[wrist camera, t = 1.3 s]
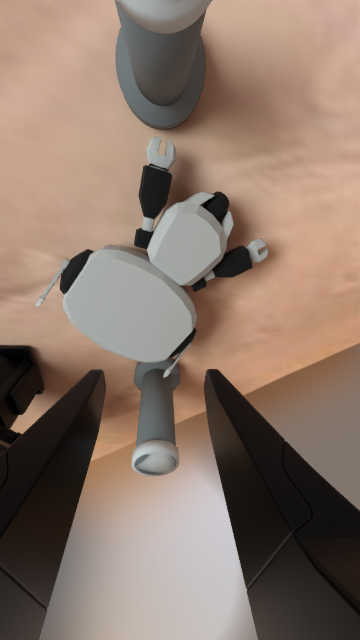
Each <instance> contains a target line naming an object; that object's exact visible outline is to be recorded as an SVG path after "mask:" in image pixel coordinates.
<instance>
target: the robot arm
mask: <svg viewBox="0 0 360 640" xmlns="http://www.w3.org/2000/svg"><path fill="white" fill-rule="evenodd" d="M23 350H24V351H23ZM25 351H26V352H25ZM43 391H44V386H43V381H42V378H41V375H40V373H39V370H38V367H37V365H36V363H35V360H34V357H33V354H32V351H31V349H30V348H29V347H27V346H0V640H39V637H40V634H41V630H42V627H43V623H44V620H45V617H46V613H47V607H48V605H49V602H50V599H51V595H52V592H53V588H54V585H55V581H56V578H57V574H58V571H59V568H60V564H61V561H62V557H63V554H64V550H65V547H66V543H67V540H68V536H69V532H70V530H71V526H72V523H73V519H74V516H75V512H76V509H77V505H78V502H79V498H80V495H81V492H82V488H83V485H84V481H85V478H86V474H87V471H88V467H89V464H90V460H91V457H92V453H93V450H94V447H95V443H96V440H97V436H98V432H99V427H100V421H101V415H102V410H103V404H104V398H105V392H106V384H105V377H104V372H103V370H101V369H99V370H91V371H89V372H88V373H87V374H86V375H85V376H84V377H83V378H82V379H81V380H80V381H79V382H78V383H76V384H75V385H74V386H73V387H72V388H71V389H70V390H69V391H68V392H67V393H66V394H65V395H64V396H63V397H62V398H60V399H59V400H58V401H57V402H56V403H55V404H54V405H53V406H52V407H51V408H50V409H49V410H48V411H47V412H46V413H44V414H43V415H42V416H41V417H40V418H39V419H38V420H37V421H36V422H35V423H34V424H33V425H32V426H31V427H30V428H28V429H27V430H26V431H25V432H24V433H23V434H21V433H19V432H18V433H16V432H14V431H13V430H11V429H10V428H11V427H12V425H13V423H14V422H15V420H16V419H17V417H18V415H23V414H24V413H25V411H26V410H27V408H28V406H29V405H30V403H31V401H32V400H33V398H34V396H35V395H36V394H42V393H43ZM204 393H205V402H206V410H207V419H208V426H209V432H210V436H211V441H212V445H213V449H214V453H215V458H216V462H217V466H218V470H219V475H220V479H221V483H222V488H223V492H224V496H225V500H226V505H227V509H228V513H229V517H230V522H231V526H232V530H233V533H234V539H235V543H236V547H237V551H238V556H239V560H240V564H241V568H242V572H243V577H244V581H245V585H246V589H247V594H248V599H249V603H250V607H251V611H252V616H253V620H254V624H255V628H256V633H257V637H258V640H360V511H359V510H358V509H357V508H356V507H355V506H354V505H353V504H351V503H350V502H349V501H348V500H347V499H346V498H345V497H344V496H343V495H341V494H340V493H339V492H338V491H337V490H336V489H335V488H334V487H333V486H332V485H330V484H329V483H328V482H327V481H326V480H325V479H324V478H323V477H322V476H321V475H320V474H319V473H318V472H316V471H315V470H314V469H313V468H312V467H311V466H310V465H309V464H308V463H307V462H306V461H305V460H304V459H303V458H302V457H301V456H300V455H299V454H298V453H297V452H296V451H295V450H294V449H293V448H292V447H291V446H290V445H289V444H288V442H286V441H285V440H284V438H283V437H282V436H281V435H280V434H279V433H278V432H277V431H276V430H275V429H274V428H273V427H272V426H271V425H270V424H269V423H268V422H267V420H266V419H265V418H264V417H263V416H262V415H261V414H260V413H259V412H258V411H257V410H256V409H255V408H254V407H253V406H252V405H251V404H250V403H249V402H248V401H247V399H245V397H244V396H243V395H242V394H241V393H240V392H239V391H238V390H237V389H236V388H235V387H234V386H233V385H232V384H231V383H230V382H229V381H228V380H227V379H226V377H225V376H224V375H223V374H222V373H221V372H220V371H219V370H217V369H208V370H207V371H206V376H205V382H204ZM284 441H285V442H284Z"/></svg>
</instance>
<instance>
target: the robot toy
mask: <svg viewBox="0 0 360 640" xmlns="http://www.w3.org/2000/svg"><path fill="white" fill-rule="evenodd" d="M161 140H162V138H160V137H154V138H153V139H151V140H150V142H149V145H148V147H147V150H146V153H147V157H148V162H149V166H147V165H145V166H143V172H142V178H141V184H140V190H139V199H140V203H141V208H142V211H143V215H144V219H143V225H142V228H139V229H137V230H136V235H135V241H134V245H135V246H137V247H140V248H144V249H147V252H148V255H149V257H148V256H146V255H144V254H142V253H140V252H138V251H135V250H133V249H131V248H128V247H124V246H118V245H106V246H104V247H102V248H100V249H98V250H96V251H92V250H89V249H87V250H85V251H83V252H82V253H80V254H78V255H77V256H75V257H74V258H72V259H71V260H70V261H69V260H68V259H65V260H64V261H63V263H62V264H61V269H60V270H59V272H58V273H57V274H56V276H55V277H54V279H53V280H52V282H51V283H50V285H49V286H48V288H47V289H46V290H45V292H44V293H43V295H42V296H41V297H40V298H39V299H38V301H37V302H36V307H37V306H39V305H40V304H42V302H43V301H44V299H45V297H46V295H47V294H48V292H49V291H50V289H51V288H52V286H53V285H54V284H55V282H56V281H57V279H58V278H59V276H60V275H61V282H60V290H61V291H62V293H63V294H64V300H63V309H64V311H65V313H66V315H67V317H68V318H69V320H70V321H71V322H72V324H73V325H74V326H75V327H76V328H77V329H79V330H80V331H81V332H82V333H83V334H84V335H85V336H87V337H88V338H89V339H91V340H92V341H93V342H95V343H96V344H98V345H99V346H100V347H102V348H103V349H104V350H107V351H109V352H112V353H114V354H117V355H120V356H122V357H125V358H127V359H131V360H135V361H138V362H144V363H157V362H160V361H163V360H166V359H167V358H168V357H174V356H175V355H177V354H178V353H179V354H178V356H177V357H176V359H175V360H174V361H173V363H172V364H171V365H170V367H169V368H168V369H167V370H166V371H165V373H164V377H167V376H168V375H169V373H170V371H171V369H172V368H173V367H174V365H175V364H176V363H177V361H178V360H179V359H180V357H181V356H182V354H183V353H184V352H185V350H186V349H187V348H188V349H189V347H190V346H191V345H192V343H191V341H192V340H193V338H194V335H195V333H196V329H195V324H196V321H197V314H196V310H195V307H194V304H193V302H192V300H191V298H190V296H189V294H188V292H187V291H186V290H185V288H184V287H183V285H191V286H192V288H193V291H194V292H196V291H198V290H200V289H202V288H204V287H206V281H208V280H210V279H212V278H214V277H234V276H236V275H238V274H240V273H243V272H245V271H247V270H249V269H251V268H253V267H252V263H259V262H261V261H262V260H263V259H265V258H266V257H267V255H268V249H266V248H265V249H263V250H261V251H259V252H258V251H257V250H258V249H260V248H262V247H264V246H267V245H266V242H265V241H264V240H262V239H257V240H253V241H252V242H251V243H250V244H249V245H248V246H247V247H246V248H245V247H244V246H243V245H242V246H239V247H236V248H234V249H232V250H230V251H228V252H226V253H225V251H226V249H227V239H228V236H229V234H230V232H231V229H232V227H233V225H234V223H233V220H232V216H231V213H230V211H226V210H227V209H228V207H229V200H228V198H227V197H226V195H224V194H223V193H222V192H215V193H214V194H208V193H205V192H200V193H196V194H194V195H193V196H191V197H189V198H188V199H186V200H185V201H183V202H178V203H174V204H173V205H171V206H170V207H168V208H167V209H165V211H164V212H163V214H162V216H161V218H160V219H159V221H158V223H157V225H156V227H155V229H154V231H152V229H153V224H154V219H155V218H156V217H157V216H158V215H159V213H160V212H161V210H162V209H163V208H164V206H165V205H166V203H167V198H168V194H169V189H170V184H171V180H172V174H171V173H168V171H169V169H170V168H171V166H172V165H173V164H174V162H175V154H176V148H175V147H174V145H173V143H172V142H171V141H169V140H167V141H166V152H165V156H164V155H161V154H158V149H159V145H160V142H161ZM205 201H206V202H205ZM204 202H205V203H204ZM202 203H204V205H203V206H200V204H202ZM64 269H65V270H64ZM63 270H64V271H63ZM62 272H63V273H62ZM61 273H62V274H61ZM164 377H163V378H164Z"/></svg>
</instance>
